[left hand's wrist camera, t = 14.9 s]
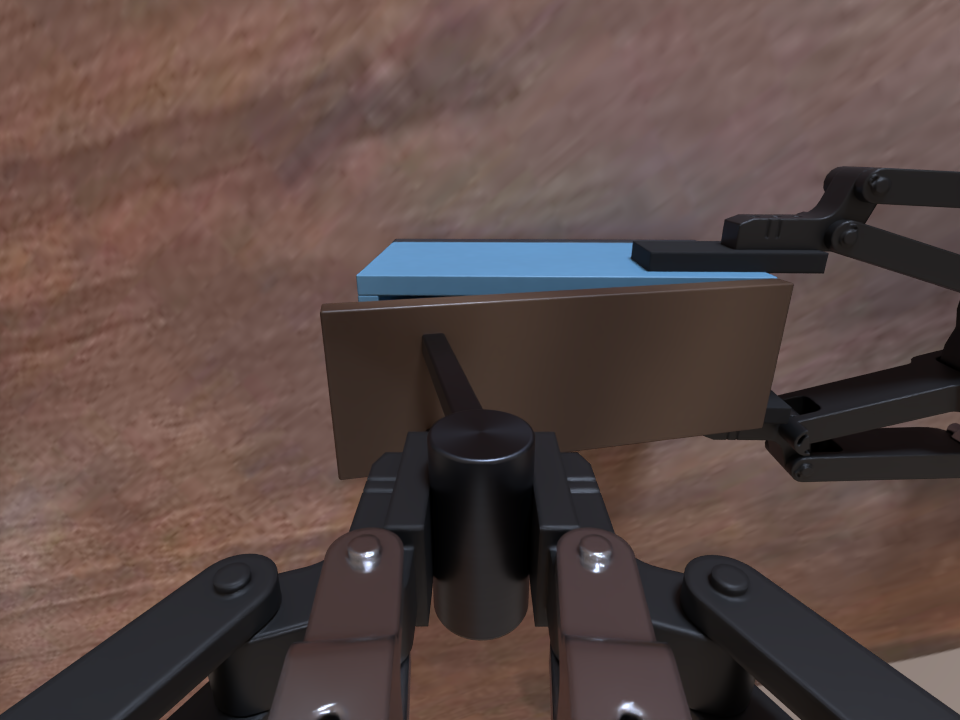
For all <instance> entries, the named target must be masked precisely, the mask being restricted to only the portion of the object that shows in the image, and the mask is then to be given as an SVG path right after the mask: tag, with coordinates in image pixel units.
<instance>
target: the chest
mask: <svg viewBox="0 0 960 720" xmlns="http://www.w3.org/2000/svg"><path fill="white" fill-rule="evenodd" d="M633 241H695V240H538V239H395V240H394V241H393V243H392V244H391V245H390V246H388V247H387V248H386V249H385V250H384V251H383V252H382V253H381V254H380V255H379V256H377V257H376V258H375V259H374V260H373V261H372V262H371V263H370V264H369V265H367V266H366V267H365V268H364V269H363V270H362V271H361V272H360V273H359V274H358V275H357V276H356V278H357V289H358V295H359V296H358V302H366V301H383V300H401V299H418V298H436V297H454V296H471V295H489V294H506V293H524V292H542V291H559V290H577V289H594V288H612V287H630V286H647V285H665V284H683V283H700V282H718V281H735V280H753V279H771V278H777V277H775V276H773V275H771V274H768V273H766V272H648V271H647V270H646V269H644V268H643V267H642V266H640V265H639V264H638V263H636V262H635V261H634V260H633V259H631V253H632V244H633Z"/></svg>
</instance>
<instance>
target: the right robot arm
mask: <svg viewBox="0 0 960 720" xmlns="http://www.w3.org/2000/svg"><path fill="white" fill-rule="evenodd" d="M823 188H824V191H825V193H824V195H823V196H822V198H821V200H820V201H819V203H818V204H817V206H815V207H814V208H813V209H812V210H811V211H809V212H801V213H798V214H796V215H752V214H738V215H736V216H733V217H730V218H728V219H725V221H724V227H723V233H722V239H721V241H633V244H632V253H631V259H633V260H634V261H635V262H636V263H638V264H639V265H640V266H642V267H643V268H644V269H646V270H647V271H648V272H766V273H824V270H825V266H826V262H827V258H828V253H826V252H823V251H831V252H834V253H837V254H841V255H844V256H847V257H850V258H853V259H856V260H859V261H863V262H866V263H869V264H872V265H875V266H878V267H881V268H885V269H888V270H891V271H894V272H897V273H900V274H903V275H907V276H910V277H913V278H916V279H919V280H922V281H925V282H929V283H932V284H935V285H938V286H941V287H944V288H947V289H950V290H953V291H956V292H960V255H959V254H956V253H953V252H950V251H946V250H943V249H940V248H937V247H934V246H931V245H928V244H925V243H922V242H919V241H916V240H913V239H910V238H906V237H903V236H900V235H897V234H894V233H891V232H888V231H885V230H882V229H879V228H876V227H873V226H870V225H866V224H865V223H866V221H867V220H868V218H869V216H870V215H871V213H872V212H873V210H874V208H875V207H876V205H877V204H891V205H911V206H930V207H950V208H960V172H954V171H934V170H914V169H894V168H872V167H848V166H842V167H837V168H835V169H833V170H831V171H830V173H829V174H828V175H827V176H826V178H825V180H824V186H823ZM953 411H955V412H960V302H959V305H958V308H957V317H956V327H955V329H954V331H953V332H952V334H951V336H950V337H949V339H948V340H947V342H946V344H945V346H944V349H943V350H940V351H936V352H932V353H927V354H923V355H919V356H916V357H913V358H912V359H911V363H910V364H907V365H903V366H898V367H894V368H890V369H886V370H882V371H878V372H874V373H869V374H865V375H861V376H857V377H853V378H849V379H844V380H840V381H836V382H832V383H828V384H824V385H819V386H815V387H811V388H807V389H803V390H799V391H795V392H790V393H786V394H782V395H778V396H777V395H776V394H775V393H774V392H773V391H770V395H769V400H768V404H767V409H766V414H765V418H764V423H763V427H762V428H758V429H750V430H742V431H734V432H726V433H718V434H710V435H703V436H705V437H708V438H711V439H713V440H726V439H728V440H735V439H737V440H766V441H765V447H766V449H767V450H768V452H769V453H770V454H771V455H772V456H773V457H774V458H775V459H776V460H777V461H778V462H779V463H780V465H781V466H782V467H783V468H784V469H785V470H786V471H787V472H788V473H789V474H790V475H791V476H792V478H793V479H795V480H796V481H799V482H822V481H860V480H898V479H936V478H960V424H958V423H953V424H951V425H949V426H948V428H947V431H946V430H942V429H938V428H930V427H903V428H882V427H886V426H890V425H895V424H899V423H903V422H908V421H912V420H917V419H921V418H925V417H930V416H934V415H938V414H943V413H947V412H953Z"/></svg>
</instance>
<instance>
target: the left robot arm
mask: <svg viewBox="0 0 960 720" xmlns="http://www.w3.org/2000/svg"><path fill="white" fill-rule="evenodd" d="M428 433H429V432H408V433H407V437H406V441H405V445H404V449H403V452H385V453H384V454H383V455H382V456H381V457H380V458H379V459H377V460H376V461H375V462H374V463H373V464H372V467H371V469H370V472H369V475H368V478H367V481H366V484H365V487H364V490H363V493H362V496H361V499H360V501H359V504H358V507H357V510H356V513H355V516H354V519H353V522H352V525H351V528H350V531H349V532H348V533H346V534H344V535H342V536H341V537H339V538H338V539H336V540H335V541H334V542H333V543H332V544H331V545H330V547H329V548H328V550H327V552H326V555H325V558H324V560H323V561H321V562H319V563H316V564H314V565H311V566H307V567H304V568H300V569H295V570H291V571H287V572H283V573H279V574H278V571H277V567H276V565H275V563H274V562H273V561H272V560H271V559H269V558H268V557H265V556H263V555H258V554H241V555H235V556H232V557H228V558H226V559H223V560H221V561H218V562H217V563H215V564H213V565H211V566H210V567H208V568H206V569H205V570H204V571H202V572H201V573H199V574H198V575H197V576H195V577H194V578H192V579H191V580H190V581H188V582H187V583H185V584H184V585H182V586H181V587H180V588H178V589H177V590H175V591H174V592H173V593H171V594H170V595H168V596H167V597H166V598H164V599H163V600H161V601H160V602H159V603H157V604H156V605H154V606H153V607H151V608H150V609H149V610H147V611H146V612H144V613H143V614H142V615H140V616H139V617H137V618H136V619H135V620H133V621H132V622H130V623H129V624H128V625H126V626H125V627H123V628H122V629H121V630H119V631H118V632H116V633H115V634H113V635H112V636H111V637H109V638H108V639H106V640H105V641H104V642H102V643H101V644H99V645H98V646H97V647H95V648H94V649H92V650H91V651H90V652H88V653H87V654H85V655H84V656H82V657H81V658H80V659H78V660H77V661H75V662H74V663H73V664H71V665H70V666H68V667H67V668H66V669H64V670H63V671H61V672H60V673H59V674H57V675H56V676H54V677H53V678H52V679H50V680H49V681H47V682H46V683H44V684H43V685H42V686H40V687H39V688H37V689H36V690H35V691H33V692H32V693H30V694H29V695H28V696H26V697H25V698H23V699H22V700H21V701H19V702H18V703H16V704H15V705H13V706H12V707H11V708H9V709H8V710H6V711H5V712H4V713H2V714H1V715H0V720H159V719H160V718H161V717H162V716H164V715H165V714H166V713H167V712H168V711H169V710H170V709H171V708H173V707H174V706H175V705H176V704H177V703H178V702H179V701H180V700H181V699H183V698H184V697H185V696H186V695H187V694H188V693H189V692H190V691H191V690H193V689H194V688H195V687H196V686H197V685H198V684H199V683H200V682H202V681H203V680H204V679H205V678H206V677H207V676H208V678H209V682H208V683H206V684H205V685H204V686H203V687H202V688H201V689H200V690H199V691H198V692H197V693H195V694H194V695H193V696H192V697H191V698H190V699H189V700H188V701H187V702H185V703H184V704H183V705H182V706H181V707H180V708H179V709H178V710H177V711H176V712H174V713H173V714H172V715H171V716H170V717H169V718H168V719H167V720H409V706H410V676H411V655H410V651H411V649H412V645H413V639H414V631H415V626H428V623H429V614H430V605H431V596H432V586H433V577H434V572H433V547H432V522H431V498H430V484H429V472H428V448H427V435H428ZM534 433H535V460H534V482H533V495H532V518H531V541H530V564H529V578H530V586H531V595H532V604H533V613H534V621H535V627H548V628H549V635H550V655H549V676H550V706H551V720H793V719H792V718H791V717H790V716H789V715H788V714H787V713H786V712H784V711H783V710H782V709H781V708H780V707H779V706H778V705H777V704H776V703H775V702H773V701H772V700H771V699H770V698H769V697H768V696H767V695H766V694H765V693H763V692H762V691H761V690H760V689H759V688H758V687H757V686H756V685H755V684H754V683H755V679H756V680H757V681H758V682H760V683H761V684H762V685H763V686H764V687H765V688H766V689H767V690H769V691H770V692H771V693H772V694H773V695H774V696H775V697H776V698H777V699H779V700H780V701H781V702H782V703H783V704H784V705H785V706H786V707H787V708H789V709H790V710H791V711H792V712H793V713H794V714H795V715H797V716H798V717H799V718H800V719H801V720H960V715H959V714H958V713H956V712H955V711H954V710H952V709H951V708H949V707H948V706H947V705H945V704H944V703H942V702H941V701H939V700H938V699H937V698H935V697H934V696H932V695H931V694H930V693H928V692H927V691H925V690H924V689H923V688H921V687H920V686H918V685H917V684H916V683H914V682H913V681H911V680H910V679H908V678H907V677H906V676H904V675H903V674H901V673H900V672H899V671H897V670H896V669H894V668H893V667H892V666H890V665H889V664H887V663H886V662H885V661H883V660H882V659H880V658H879V657H878V656H876V655H875V654H873V653H872V652H870V651H869V650H868V649H866V648H865V647H863V646H862V645H861V644H859V643H858V642H856V641H855V640H854V639H852V638H851V637H849V636H848V635H847V634H845V633H844V632H842V631H841V630H840V629H838V628H837V627H835V626H834V625H832V624H831V623H830V622H828V621H827V620H825V619H824V618H823V617H821V616H820V615H818V614H817V613H816V612H814V611H813V610H811V609H810V608H809V607H807V606H806V605H804V604H803V603H801V602H800V601H799V600H797V599H796V598H794V597H793V596H792V595H790V594H789V593H787V592H786V591H785V590H783V589H782V588H780V587H779V586H778V585H776V584H775V583H773V582H772V581H771V580H769V579H768V578H766V577H765V576H763V575H762V574H761V573H759V572H758V571H756V570H755V569H753V568H752V567H750V566H749V565H747V564H745V563H743V562H740V561H738V560H735V559H732V558H729V557H725V556H718V555H705V556H700V557H697V558H695V559H693V560H691V561H690V562H689V563H688V564H687V566H686V568H685V572H684V573H680V572H676V571H672V570H667V569H663V568H659V567H656V566H652V565H649V564H647V563H644V562H642V561H640V560H638V559H637V558H635V555H634V552H633V550H632V548H631V547H630V545H629V544H628V543H627V542H626V541H625V540H623V539H622V538H621V537H619V536H618V535H616V534H615V532H614V530H613V527H612V524H611V521H610V518H609V515H608V513H607V510H606V507H605V504H604V501H603V498H602V495H601V493H600V490H599V487H598V484H597V481H596V480H595V479H596V478H595V476H594V473H593V470H592V467H591V464H589V463H588V462H587V461H586V460H585V459H584V458H583V457H582V456H581V455H580V454H579V453H578V452H560V449H559V446H558V442H557V438H556V434H555V432H534Z"/></svg>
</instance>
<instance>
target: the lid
mask: <svg viewBox="0 0 960 720" xmlns="http://www.w3.org/2000/svg"><path fill="white" fill-rule="evenodd" d="M793 286H794V285H793V283H790V282H787V281H784V280H780V279H777V278H771V279H753V280H735V281H718V282H700V283H683V284H665V285H647V286H630V287H612V288H594V289H577V290H559V291H542V292H524V293H506V294H489V295H471V296H454V297H436V298H418V299H401V300H383V301H366V302H348V303H330V304H322V306H321V311H320V317H321V326H322V335H323V344H324V352H325V361H326V370H327V379H328V388H329V396H330V405H331V414H332V423H333V431H334V440H335V449H336V458H337V467H338V475H339V479H340V480H345V479H353V478H361V477H368V475H369V472H370V469H371V467H372V464H373V463H374V462H375V461H376V460H377V459H379V458H380V457H381V456H382V455H383V454H384V453H385V452H403V449H404V445H405V441H406V437H407V433H408V432H429V433H428V435H427V448H428V472H429V484H430V498H431V522H432V547H433V572H434V577H433V593H434V608H435V612H436V614H437V616H438V618H439V619H440V621H441V622H442V624H443V625H444V626H445V627H446V628H447V629H448V630H450V631H451V632H453V633H454V634H456V635H458V636H460V637H463V638H466V639H471V640H491V639H496V638H499V637H502V636H504V635H506V634H508V633H510V632H511V631H513V630H514V629H515V628H516V627H517V626H518V625H519V624H520V623H521V621H522V620H523V618H524V617H525V615H526V612H527V609H528V598H529V564H530V541H531V518H532V495H533V482H534V460H535V433H534V432H555V434H556V438H557V442H558V446H559V449H560V452H572V451H580V450H588V449H596V448H604V447H613V446H621V445H629V444H637V443H645V442H653V441H661V440H669V439H677V438H685V437H694V436H702V435H710V434H718V433H726V432H734V431H742V430H750V429H758V428H762V427H763V423H764V418H765V414H766V409H767V404H768V400H769V395H770V391H771V386H772V382H773V377H774V372H775V368H776V363H777V359H778V354H779V350H780V345H781V340H782V336H783V331H784V327H785V322H786V318H787V313H788V308H789V304H790V299H791V295H792V290H793Z"/></svg>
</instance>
